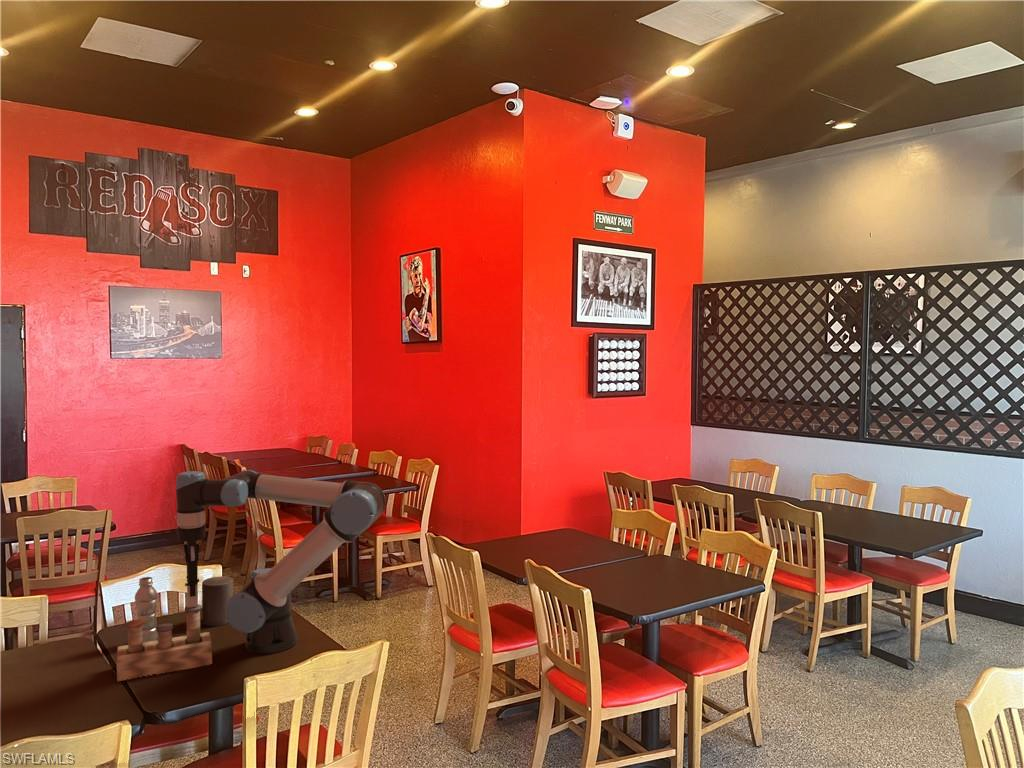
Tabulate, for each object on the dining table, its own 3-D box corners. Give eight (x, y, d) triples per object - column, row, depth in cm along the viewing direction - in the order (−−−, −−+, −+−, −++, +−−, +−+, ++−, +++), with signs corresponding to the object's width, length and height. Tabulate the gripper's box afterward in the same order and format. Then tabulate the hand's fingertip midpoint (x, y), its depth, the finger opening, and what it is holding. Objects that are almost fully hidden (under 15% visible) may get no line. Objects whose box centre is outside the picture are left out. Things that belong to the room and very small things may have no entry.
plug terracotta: (148, 657, 206) (147, 619, 205) (136, 663, 201) (135, 625, 201) (134, 655, 207) (133, 618, 206) (123, 662, 202) (122, 624, 202)
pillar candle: (197, 626, 237) (196, 581, 237) (209, 615, 247) (208, 572, 246) (226, 626, 237) (226, 581, 237) (237, 615, 247) (237, 572, 246)
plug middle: (177, 661, 209) (176, 624, 209) (166, 667, 205) (165, 629, 204) (164, 659, 210) (163, 622, 210) (153, 665, 206) (152, 628, 205)
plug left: (205, 641, 212) (204, 605, 212) (195, 647, 208) (194, 610, 208) (192, 640, 213) (191, 603, 213) (182, 645, 209) (181, 609, 209)
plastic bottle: (134, 648, 220) (133, 583, 219) (136, 640, 226) (134, 577, 225) (158, 645, 222) (156, 580, 221) (159, 637, 229) (157, 574, 228)
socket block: (209, 651, 217) (209, 631, 217) (212, 664, 209) (211, 643, 208) (118, 667, 207) (117, 646, 206) (117, 681, 198) (116, 659, 197)
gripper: (176, 522, 213) (177, 601, 214) (177, 532, 202) (179, 615, 203) (203, 519, 217) (205, 597, 218) (206, 529, 205) (208, 611, 206)
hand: (192, 606), depth 210 cm, fingers closed
